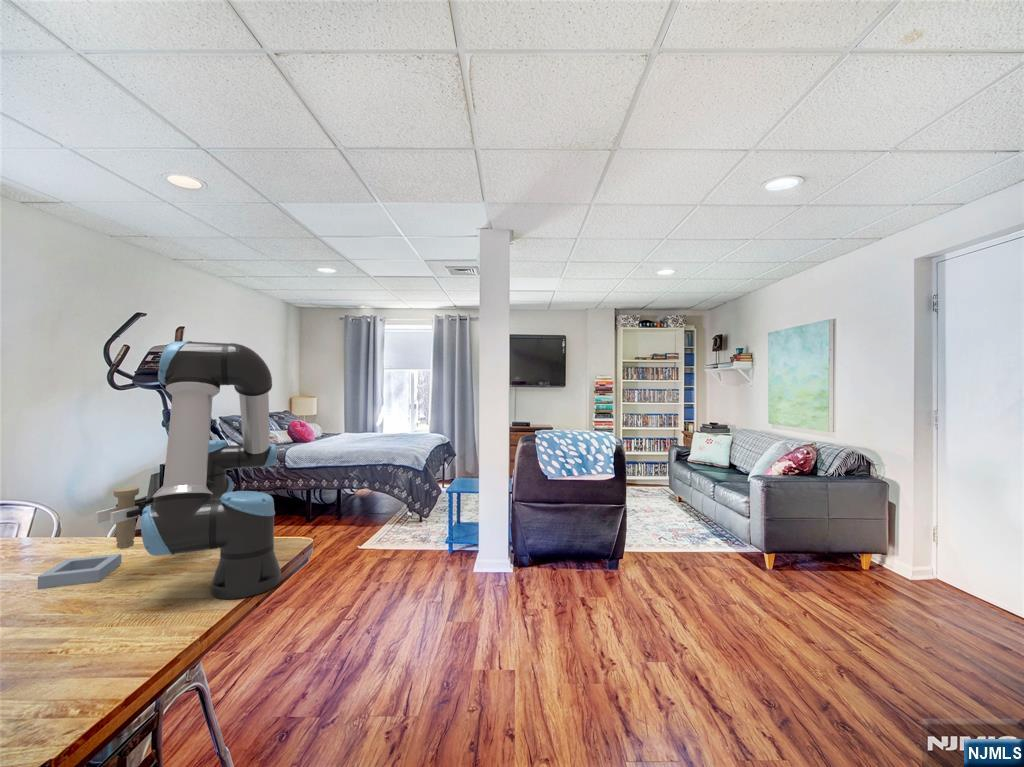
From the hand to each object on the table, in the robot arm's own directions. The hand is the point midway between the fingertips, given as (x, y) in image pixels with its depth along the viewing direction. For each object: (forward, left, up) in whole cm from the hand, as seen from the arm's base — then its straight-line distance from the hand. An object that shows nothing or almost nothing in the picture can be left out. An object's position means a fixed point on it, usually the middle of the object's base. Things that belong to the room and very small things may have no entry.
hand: (104, 517), depth 108 cm
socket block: (+13, +9, -18) cm, 24 cm away
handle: (+5, -3, -9) cm, 11 cm away
